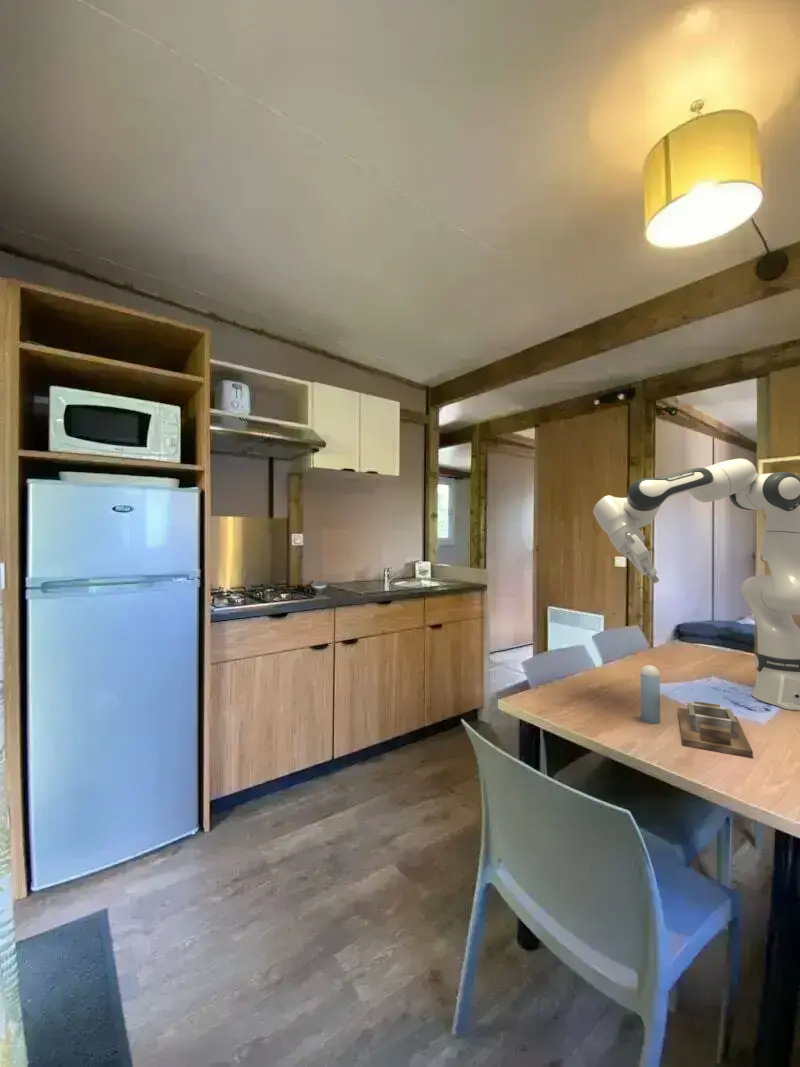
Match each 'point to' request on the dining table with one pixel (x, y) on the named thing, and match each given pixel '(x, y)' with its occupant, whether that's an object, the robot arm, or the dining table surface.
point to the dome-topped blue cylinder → (650, 694)
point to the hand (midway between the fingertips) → (655, 578)
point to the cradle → (712, 729)
